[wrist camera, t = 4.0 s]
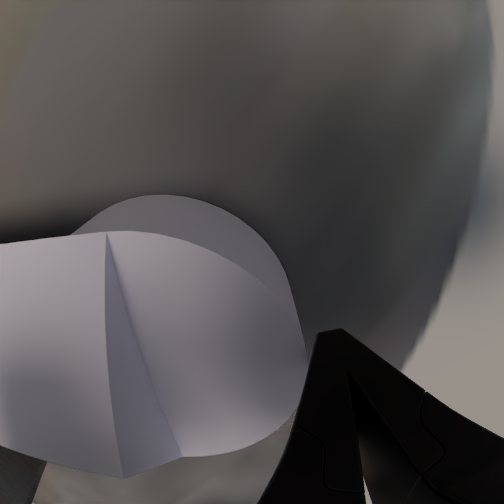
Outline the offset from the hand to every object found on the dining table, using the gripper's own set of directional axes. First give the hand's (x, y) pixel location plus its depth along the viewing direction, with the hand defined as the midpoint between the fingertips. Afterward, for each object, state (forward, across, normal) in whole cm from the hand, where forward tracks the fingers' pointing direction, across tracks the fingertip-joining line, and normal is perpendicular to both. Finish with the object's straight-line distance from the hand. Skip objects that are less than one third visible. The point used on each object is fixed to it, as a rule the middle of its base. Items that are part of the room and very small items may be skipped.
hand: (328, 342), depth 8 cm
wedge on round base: (+3, +7, 0) cm, 8 cm away
